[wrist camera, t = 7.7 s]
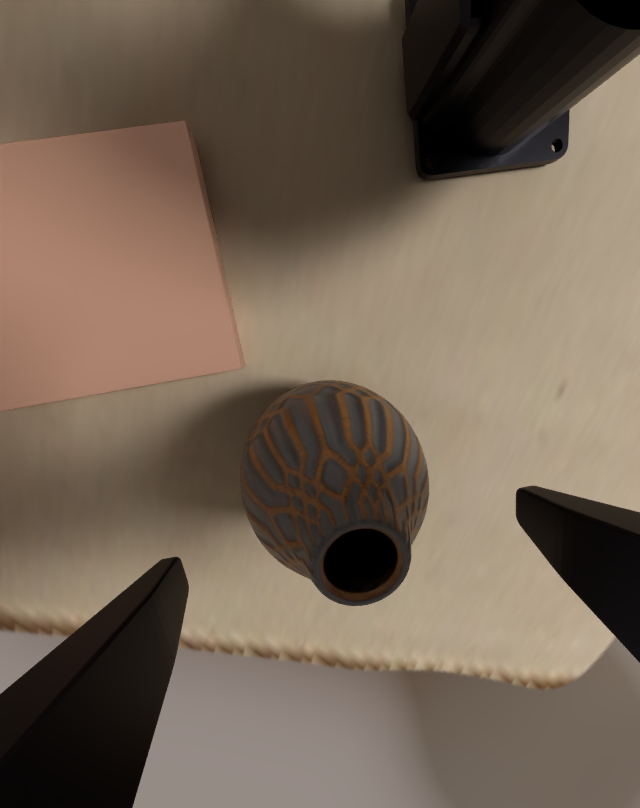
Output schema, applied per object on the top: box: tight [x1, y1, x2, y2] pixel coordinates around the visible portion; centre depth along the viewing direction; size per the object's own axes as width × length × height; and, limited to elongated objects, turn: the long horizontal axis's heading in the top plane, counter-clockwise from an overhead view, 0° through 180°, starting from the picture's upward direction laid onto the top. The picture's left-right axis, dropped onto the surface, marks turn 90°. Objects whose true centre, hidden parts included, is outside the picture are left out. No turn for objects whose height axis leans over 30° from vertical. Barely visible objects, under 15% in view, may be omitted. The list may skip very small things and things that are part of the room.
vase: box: [240, 380, 429, 606], centre depth 11 cm, size 7×7×9 cm
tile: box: [0, 120, 245, 411], centre depth 13 cm, size 10×2×9 cm
